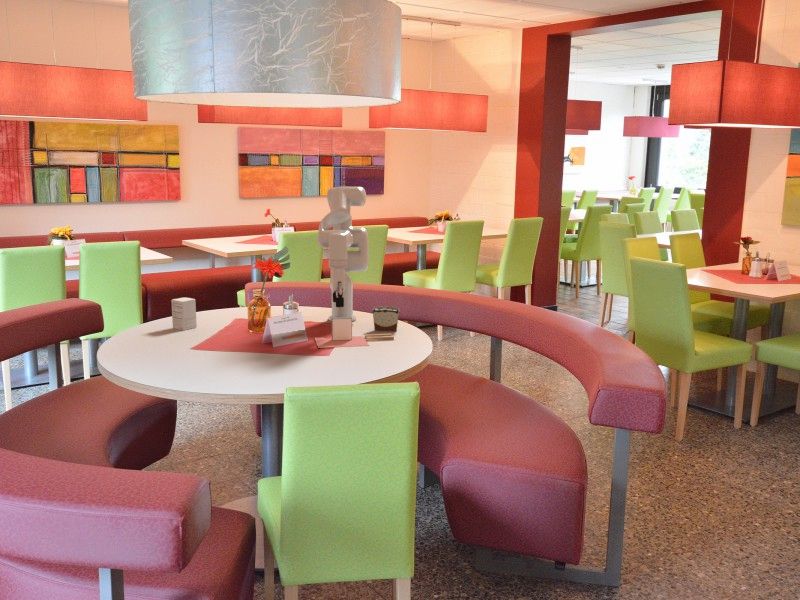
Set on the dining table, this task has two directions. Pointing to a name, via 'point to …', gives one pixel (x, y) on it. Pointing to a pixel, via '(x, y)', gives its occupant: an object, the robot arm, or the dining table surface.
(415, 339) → the dining table surface
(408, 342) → the dining table surface
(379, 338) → the stand
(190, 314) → the supplement box
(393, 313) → the half round cake
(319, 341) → the mat
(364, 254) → the robot arm
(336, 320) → the grey square slab
